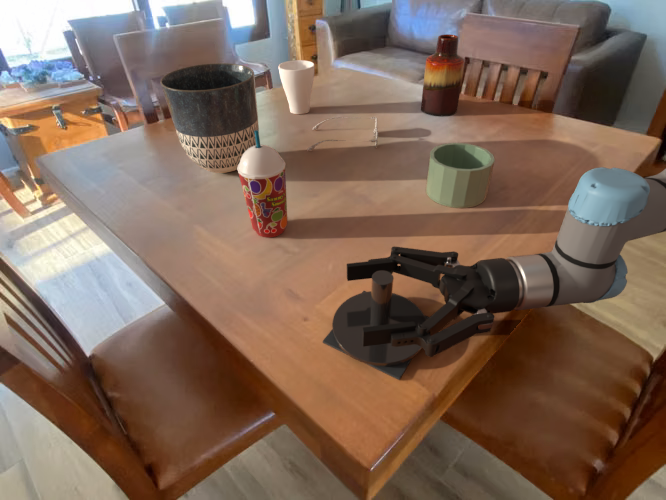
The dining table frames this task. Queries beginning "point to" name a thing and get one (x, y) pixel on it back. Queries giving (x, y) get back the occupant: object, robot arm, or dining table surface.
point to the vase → (443, 78)
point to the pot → (459, 174)
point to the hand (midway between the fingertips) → (354, 302)
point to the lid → (375, 322)
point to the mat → (391, 370)
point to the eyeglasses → (343, 140)
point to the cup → (297, 84)
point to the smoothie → (264, 188)
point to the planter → (213, 112)
